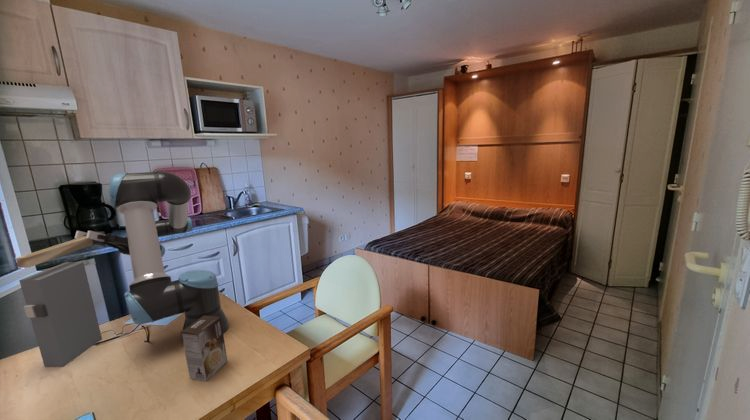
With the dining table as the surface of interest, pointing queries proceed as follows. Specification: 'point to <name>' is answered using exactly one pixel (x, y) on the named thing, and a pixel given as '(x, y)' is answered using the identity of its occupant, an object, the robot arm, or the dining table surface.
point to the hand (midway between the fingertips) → (82, 234)
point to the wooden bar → (54, 251)
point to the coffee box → (204, 347)
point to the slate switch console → (61, 312)
